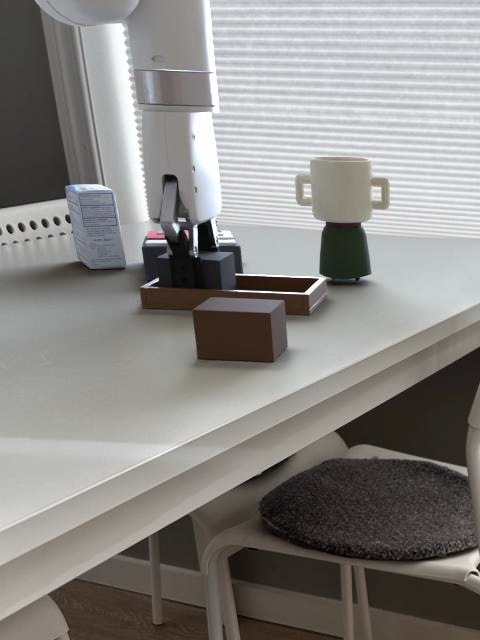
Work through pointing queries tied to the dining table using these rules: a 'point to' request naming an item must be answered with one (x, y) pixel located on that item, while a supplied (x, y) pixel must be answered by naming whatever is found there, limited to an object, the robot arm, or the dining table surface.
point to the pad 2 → (240, 329)
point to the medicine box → (96, 226)
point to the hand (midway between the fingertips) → (198, 289)
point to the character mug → (342, 211)
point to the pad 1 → (205, 270)
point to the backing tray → (242, 293)
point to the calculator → (158, 244)
